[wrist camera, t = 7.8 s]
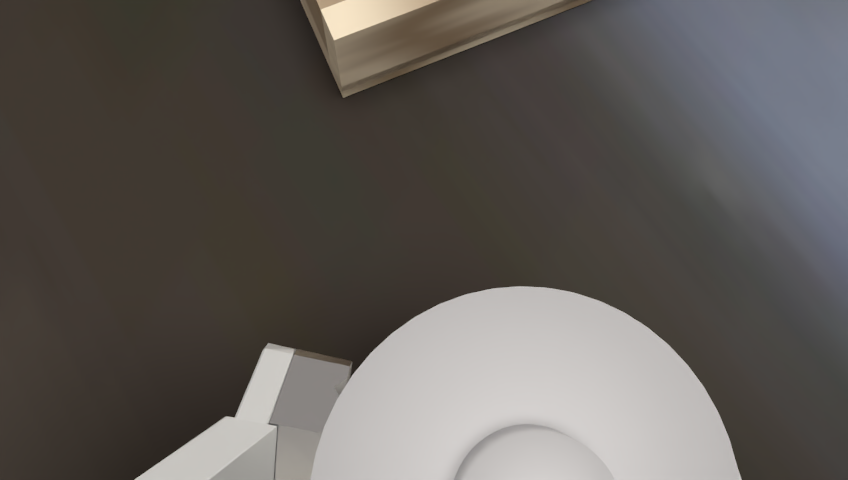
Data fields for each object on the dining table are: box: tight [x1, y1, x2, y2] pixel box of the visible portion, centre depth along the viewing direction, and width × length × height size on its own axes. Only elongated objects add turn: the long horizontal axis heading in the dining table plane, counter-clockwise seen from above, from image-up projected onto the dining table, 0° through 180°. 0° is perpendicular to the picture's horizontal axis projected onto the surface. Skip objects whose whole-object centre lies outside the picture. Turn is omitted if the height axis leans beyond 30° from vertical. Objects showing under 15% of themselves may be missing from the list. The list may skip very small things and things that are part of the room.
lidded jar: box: [311, 286, 739, 480], centre depth 12 cm, size 5×5×10 cm
